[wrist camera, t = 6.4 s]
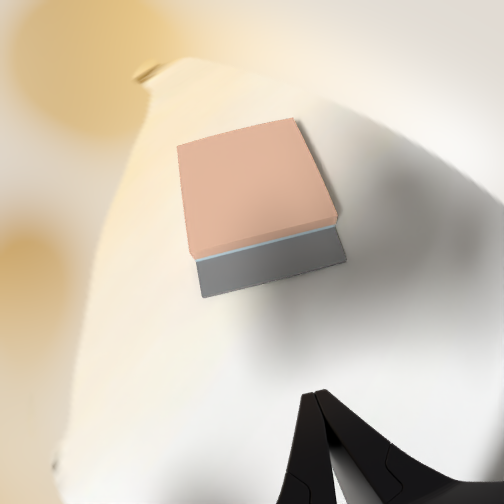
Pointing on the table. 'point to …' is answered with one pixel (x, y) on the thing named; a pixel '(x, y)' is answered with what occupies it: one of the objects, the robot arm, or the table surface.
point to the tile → (251, 189)
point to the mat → (270, 262)
